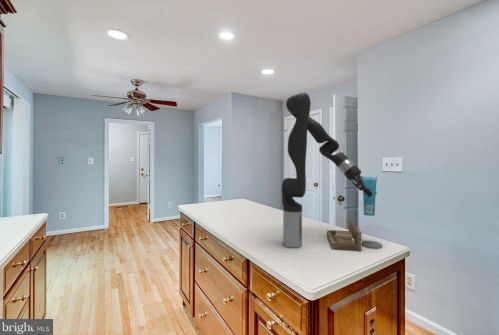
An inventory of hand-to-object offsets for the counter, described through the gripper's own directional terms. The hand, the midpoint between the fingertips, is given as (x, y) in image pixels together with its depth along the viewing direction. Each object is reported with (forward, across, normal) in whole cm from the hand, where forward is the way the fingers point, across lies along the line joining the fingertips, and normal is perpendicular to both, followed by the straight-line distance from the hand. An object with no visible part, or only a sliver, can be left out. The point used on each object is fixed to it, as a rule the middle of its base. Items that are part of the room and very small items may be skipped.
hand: (373, 195), depth 123 cm
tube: (+6, 0, +9) cm, 11 cm away
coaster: (+18, 0, +18) cm, 25 cm away
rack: (+9, -6, +26) cm, 29 cm away
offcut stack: (+11, -10, +25) cm, 29 cm away
